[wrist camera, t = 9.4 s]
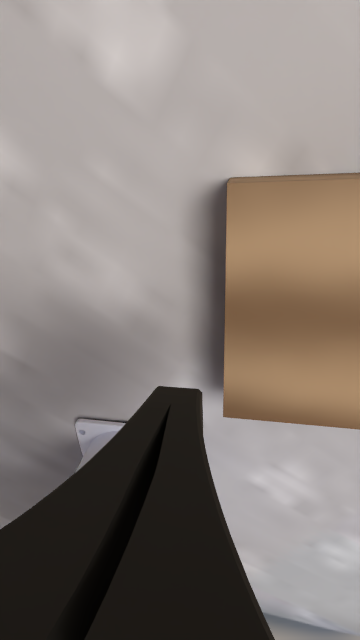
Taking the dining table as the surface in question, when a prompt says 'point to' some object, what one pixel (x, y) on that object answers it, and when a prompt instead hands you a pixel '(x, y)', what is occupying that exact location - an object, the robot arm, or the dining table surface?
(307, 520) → the dining table surface
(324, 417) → the wooden square board
